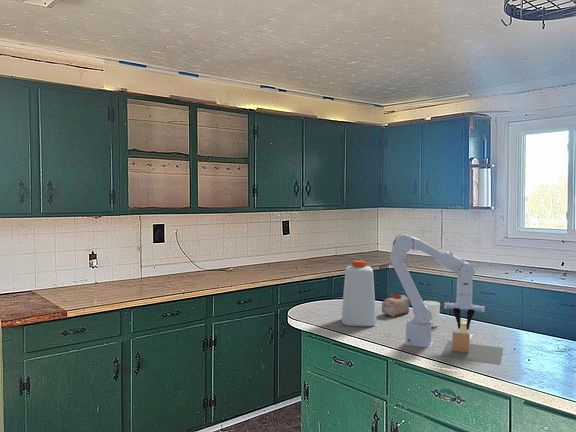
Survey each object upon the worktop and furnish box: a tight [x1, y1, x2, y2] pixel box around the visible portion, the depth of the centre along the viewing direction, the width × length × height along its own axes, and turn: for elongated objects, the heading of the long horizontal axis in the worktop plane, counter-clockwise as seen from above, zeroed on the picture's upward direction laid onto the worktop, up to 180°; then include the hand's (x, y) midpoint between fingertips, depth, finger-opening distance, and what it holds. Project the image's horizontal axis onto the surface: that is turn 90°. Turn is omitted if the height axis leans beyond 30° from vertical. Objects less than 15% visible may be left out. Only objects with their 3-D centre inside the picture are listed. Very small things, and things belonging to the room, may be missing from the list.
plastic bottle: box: [341, 259, 377, 328], centre depth 229 cm, size 15×15×28 cm
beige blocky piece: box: [459, 321, 473, 341], centre depth 195 cm, size 6×6×6 cm
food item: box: [381, 293, 410, 318], centre depth 245 cm, size 14×8×10 cm, turn 132°
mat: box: [440, 340, 504, 366], centre depth 188 cm, size 20×20×1 cm
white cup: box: [422, 300, 441, 328], centre depth 226 cm, size 8×8×10 cm
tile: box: [451, 331, 471, 353], centre depth 189 cm, size 6×1×7 cm, turn 64°
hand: (463, 328), depth 195 cm, fingers closed on beige blocky piece, 2 cm apart
